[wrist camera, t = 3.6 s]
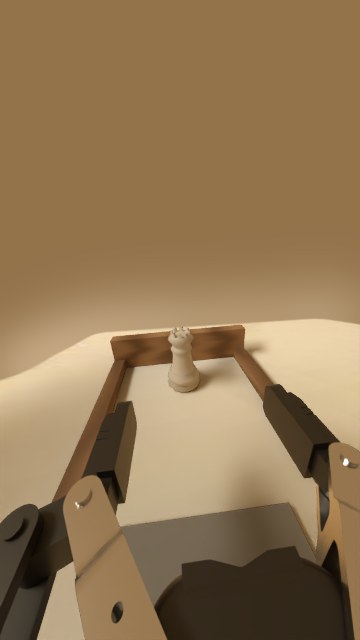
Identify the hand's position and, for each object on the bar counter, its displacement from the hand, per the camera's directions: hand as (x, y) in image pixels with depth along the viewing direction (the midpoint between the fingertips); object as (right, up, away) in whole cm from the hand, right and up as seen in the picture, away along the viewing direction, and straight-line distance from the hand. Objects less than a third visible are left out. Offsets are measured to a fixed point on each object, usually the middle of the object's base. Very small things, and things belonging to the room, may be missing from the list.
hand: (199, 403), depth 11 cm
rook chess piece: (-1, -4, +15) cm, 15 cm away
